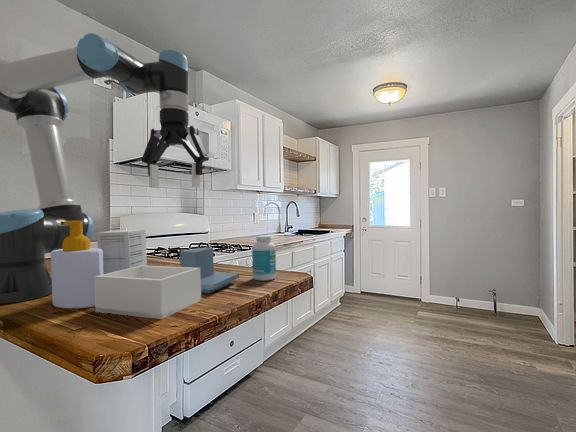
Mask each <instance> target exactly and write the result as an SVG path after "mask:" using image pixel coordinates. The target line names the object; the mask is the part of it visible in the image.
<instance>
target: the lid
mask: <svg viewBox="0 0 576 432" xmlns="http://www.w3.org/2000/svg"><path fill="white" fill-rule="evenodd" d="M179 263H180V265H179V267H192V268H200V274H201V294H202V293H203V294H204V293H205V294H211V293H214V292H216V291H218V290H220V289H222V288H225V287H226V286H229V285H231V284H232V283H231V282H233V281H235V280H236V279H239V278H240V273H237V272H217V271H216V272H215V271H214V247H195V248H192V249H191V248H190V249H186V250H181V251H179Z"/></svg>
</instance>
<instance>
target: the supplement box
mask: <svg viewBox="0 0 576 432" xmlns="http://www.w3.org/2000/svg"><path fill="white" fill-rule="evenodd" d="M96 235H97V236H96V237H97V248H98V249H102V251H103V273H104V274H107V273H111V272H115V271H120V270H124V269H128V268H132V267H136V266H141V265H146V266H148V259H147V258H148V257H147V255H148V254H147V238H146V236H147V235H146V229H123V230H122V229H121V230H120V229H119V230H110V231H99V232H97V234H96Z"/></svg>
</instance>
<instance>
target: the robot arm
mask: <svg viewBox="0 0 576 432" xmlns="http://www.w3.org/2000/svg"><path fill="white" fill-rule="evenodd" d="M157 58H158V61H153V62H142V61H141V60H139V59H138V58H136V57H134V56H132V55H131V54H130V53H128V52H126V51H125V50H123V49H122V48H121V47H119V46H118V45H116V44H115V43H113V42H112V41H110V40H109V39H107V38H105V37H102V36H101V35H99V34H97V33H85V34H84V35H83V37H82V38H80V39H79V40H78V43H77V45H76V46H75V47H72V48H67V49H62V50H58V51H53V52H49V53H45V54H40V55H35V56H32V57H26V58H23V59H19V60H13V61H8V60H5V59H0V110H1V111H5V112H9V113H13V114H14V115H15V119H16V124H17V125H18V126H19V127H21V128H22V129H24V131H25V136H26V141H27V146H28V151H29V157H30V160H31V165H32V170H33V175H34V179H35V180H34V181H35V184H36V190H37V194H38V200H39V206H38V207H37V208H31V209H30V208H28V209H20V210H19V209H18V210H9V211H1V212H0V304H1V305H2V304H3V305H4V304H11V303H20V302H24V301H30V300H34V299H39V298H42V297H46V296H49V295H51V294H52V276H51V275H50V272H49V270H48V269H47V267H46V257H45V256H46V254H51V252H52V251H53V250H58V249H63V241H64V239H65V238H66V237H68V236H70V225H61V221H82V226H83V235H84V236H86V237H88V238H89V240H90V241H91V239H92V238H93V236H94V232H95V226H94V221H93V219H92V217H91V216H89V214H87V213H85V212H83V210H82V206H81V204H80V203H79V202H77V201H75V200H74V194H73V190H72V185H71V181H70V175H69V172H68V167H67V162H66V156H65V152H64V147H63V142H62V139H61V133H60V128H61V127H62V126H63V125H64V121H65V120H66V119H67V117H68V113H69V106H70V105H69V102H68V100H67V97H66V96H65V94H64V93H63V92H62V91H61V90H60V89H58V88H57V87H61V86H65V85H66V86H67V85H71V84H75V83H79V82H80V83H81V82H85V81H89V80H95V79H101V78H106V77H109V78H111V79H113V80H114V81H117V82H118V84H119V87H121V89H123V91H125V93H127V94H132V95H133V94H137V95H141V94H146V93H156V92H159V108H160V110H159V123H160V129H155V128H150V135H149V140H148V142H147V145H146V147H145V150H144V152H143V155H142V157H141V160H140V161H141V162H142V163H144V164H146V165H147V175H148V177H149V188H151V189H159V188H160V186H159V185H160V181H159V179H160V178H159V175H160V174H159V170H160V169H159V165H158V162H159V161H160V159H161V157H162V156H163V155H164V153H165V151H166V150H167V149H168V148H169V147H170V146H177V145H178V146H182V147H183V148H184V149H185V151H186V152H187V153H188V155H189V156H190V157H191V158H192V160H193V162H192V163H191V188H201V175H203V164H204V163H205V162H208V161H209V160H210V157H209V155H208V153H207V151H206V148H205V145H204V144H203V141H202V139H201V137H200V134H199V133H200V132H199V128H198V127H196V126H193V125H189V113H188V111H189V73H190V72H189V67H188V66H189V65H188V58H187V57H186V55H185V54H183V52H181V51H178V50H174V49H164V50H162V51H160V52H159V54H158V57H157ZM188 126H189V127H188ZM188 135H189V136H190V138H191V141H192V143H193V145H194V146H193V145H192V144H191V141H190V140H189V139H188V138H187V137H188Z"/></svg>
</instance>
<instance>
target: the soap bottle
mask: <svg viewBox="0 0 576 432" xmlns="http://www.w3.org/2000/svg"><path fill="white" fill-rule="evenodd" d="M61 225H70V236H68V237H66V238H65V239H64V241H63V249H58V250H53V251H52V252H51V253H50V270H51V279H52V293H51V294H52V305H53V306H54V307H56V308H61V309H86V308H93V307H95V284H94V276H98V275H103V274H104V273H103V251H102V249H98V247H97V248H96V247H91V239H90V240H89V238H88V237H86V236H84V235H83V226H82V221H61Z"/></svg>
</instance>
